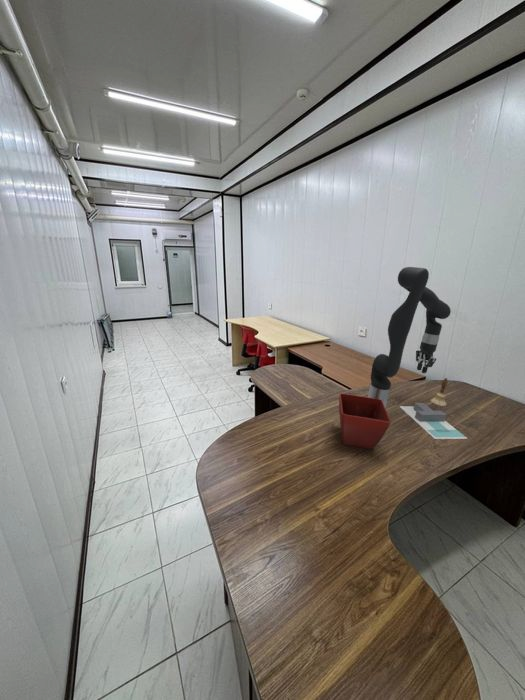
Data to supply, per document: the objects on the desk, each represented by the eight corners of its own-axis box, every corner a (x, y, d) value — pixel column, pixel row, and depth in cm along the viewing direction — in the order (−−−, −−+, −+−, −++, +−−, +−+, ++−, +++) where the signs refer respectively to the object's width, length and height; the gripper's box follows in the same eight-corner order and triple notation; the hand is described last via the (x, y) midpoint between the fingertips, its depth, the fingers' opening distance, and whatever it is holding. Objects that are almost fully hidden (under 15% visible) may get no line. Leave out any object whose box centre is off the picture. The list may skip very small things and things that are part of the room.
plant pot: (382, 456, 114) (391, 422, 109) (335, 448, 118) (342, 414, 112) (374, 430, 132) (381, 399, 127) (333, 423, 135) (339, 392, 130)
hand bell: (449, 406, 160) (457, 381, 155) (435, 405, 160) (443, 380, 155) (441, 399, 168) (448, 375, 163) (427, 398, 168) (434, 374, 162)
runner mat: (434, 439, 129) (434, 438, 128) (399, 406, 156) (399, 406, 156) (467, 439, 131) (467, 438, 130) (426, 406, 158) (427, 406, 158)
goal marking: (435, 437, 130) (435, 437, 129) (416, 420, 143) (416, 420, 143) (465, 437, 131) (466, 437, 131) (444, 420, 145) (444, 420, 145)
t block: (419, 421, 142) (421, 414, 140) (405, 409, 153) (407, 402, 152) (444, 421, 143) (446, 414, 142) (429, 409, 155) (430, 402, 153)
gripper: (414, 337, 152) (407, 366, 158) (432, 345, 139) (423, 376, 145) (427, 338, 153) (419, 366, 159) (445, 346, 140) (436, 377, 146)
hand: (421, 371), depth 152 cm, fingers open, 3 cm apart
